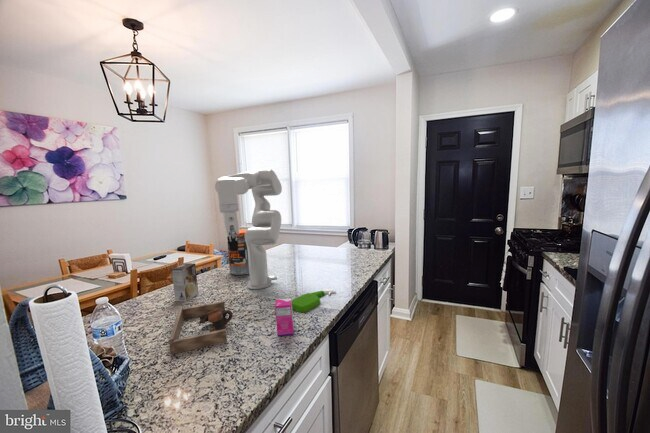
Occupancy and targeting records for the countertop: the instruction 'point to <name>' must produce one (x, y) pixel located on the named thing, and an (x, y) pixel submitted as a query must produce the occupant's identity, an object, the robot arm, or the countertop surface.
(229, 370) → the countertop surface
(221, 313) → the pottery mug
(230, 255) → the supplement tub
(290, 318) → the supplement box
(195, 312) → the wooden u-shaped frame
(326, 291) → the spray bottle
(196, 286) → the coffee box
